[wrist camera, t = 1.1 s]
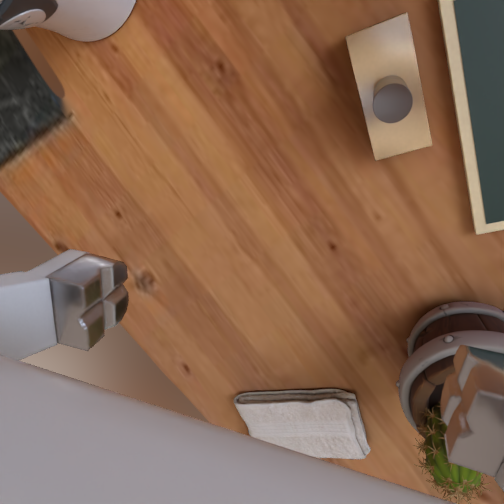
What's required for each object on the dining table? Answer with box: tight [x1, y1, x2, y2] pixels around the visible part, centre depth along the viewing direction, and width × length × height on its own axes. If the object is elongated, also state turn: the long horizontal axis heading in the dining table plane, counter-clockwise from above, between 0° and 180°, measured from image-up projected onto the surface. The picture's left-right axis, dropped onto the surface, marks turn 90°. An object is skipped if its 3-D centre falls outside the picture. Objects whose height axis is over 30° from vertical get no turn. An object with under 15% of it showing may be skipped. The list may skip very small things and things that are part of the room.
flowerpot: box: [396, 301, 504, 504], centre depth 39 cm, size 15×15×20 cm
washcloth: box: [234, 389, 371, 459], centre depth 59 cm, size 12×18×3 cm, turn 109°
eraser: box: [345, 12, 432, 161], centre depth 34 cm, size 11×5×9 cm, turn 21°
